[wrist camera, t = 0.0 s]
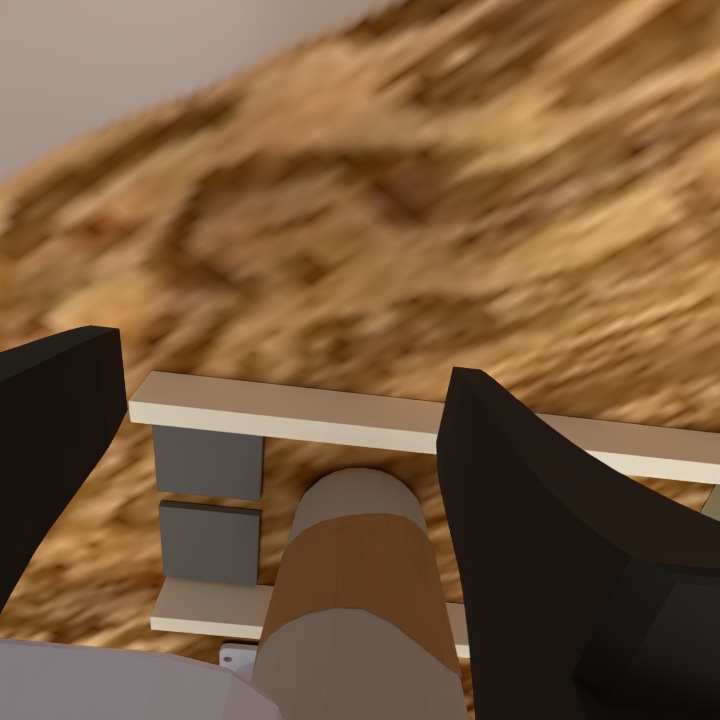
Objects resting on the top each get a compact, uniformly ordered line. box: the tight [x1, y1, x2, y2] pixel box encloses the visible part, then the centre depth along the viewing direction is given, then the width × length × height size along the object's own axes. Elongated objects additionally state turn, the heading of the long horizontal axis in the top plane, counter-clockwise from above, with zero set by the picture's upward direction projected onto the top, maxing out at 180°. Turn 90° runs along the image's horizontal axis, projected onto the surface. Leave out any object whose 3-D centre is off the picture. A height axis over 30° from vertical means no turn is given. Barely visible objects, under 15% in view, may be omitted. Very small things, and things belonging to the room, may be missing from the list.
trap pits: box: [152, 424, 264, 585], centre depth 26 cm, size 11×5×1 cm, turn 173°
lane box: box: [129, 371, 720, 658], centre depth 25 cm, size 14×28×2 cm, turn 83°
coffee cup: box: [251, 468, 469, 720], centre depth 20 cm, size 8×8×15 cm
